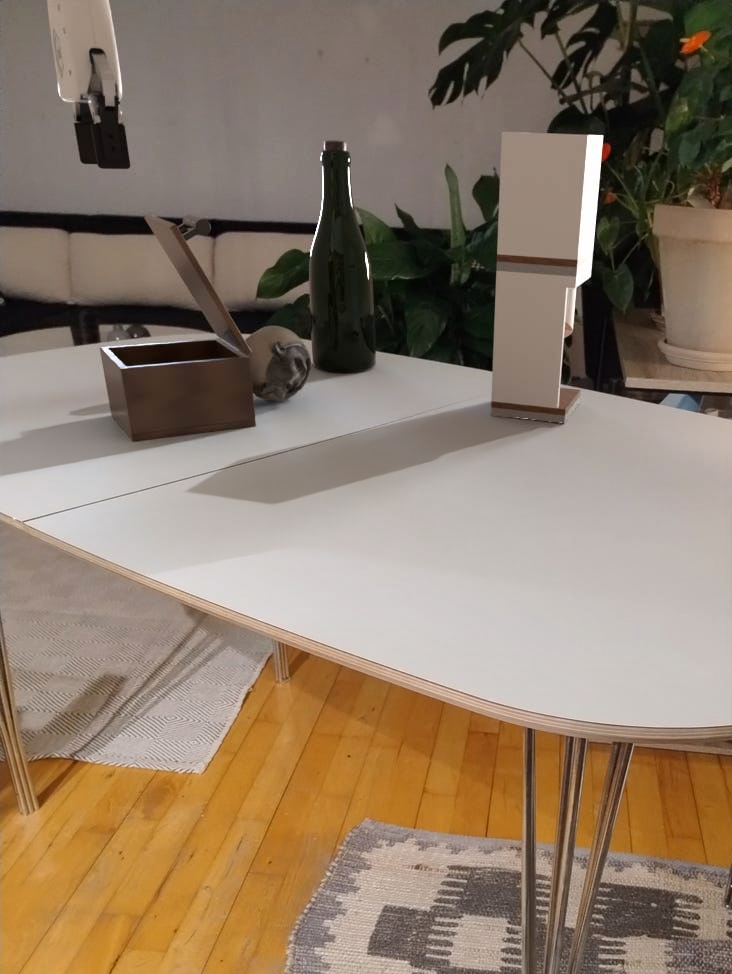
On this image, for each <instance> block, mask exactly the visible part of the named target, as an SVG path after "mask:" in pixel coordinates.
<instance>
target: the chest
mask: <svg viewBox="0 0 732 974" xmlns="http://www.w3.org/2000/svg"><path fill="white" fill-rule="evenodd" d="M99 352H100V359H101V364H102V369H103V375H104V381H105V387H106V392H107V397H108V398H107V399H108V404H109V410H110V414H111V416H112V418H113V419H114V420H115V421H116V422H117V424H118V425H119V427H121V429H122V430H123V431H124V432H125V434H126V435H127V437H129V439H130V440H131V441H132V442H137V441H138V440H139V441H146V440H154V439H163V438H172V437H177V436H187V435H196V434H203V433H210V432H212V433H213V432H219V431H227V430H235V429H236V430H237V429H242V428H243V429H244V428H251V427H256V426H257V422H256V412H255V411H256V409H255V400H254V394H253V388H252V377H251V367H250V358H249V357H248V356H246V355H245V354H243V353H242V352H240V351H239V350H238V349H237V348H235V347H233V346H232V345H230V344H229V343H227V342H226V341H224V340H223V339H221V338H220V337H217V338H204V339H203V338H202V339H190V340H178V341H165V342H152V343H151V342H149V343H141V344H140V343H139V344H137V343H135V344H126V345H125V344H124V345H123V344H122V345H112V346H111V345H110V346H99ZM139 441H138V442H139Z"/></svg>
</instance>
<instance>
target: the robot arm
mask: <svg viewBox="0 0 732 974" xmlns="http://www.w3.org/2000/svg"><path fill="white" fill-rule="evenodd" d="M46 2H47V3H46V5H47V15H48V23H49V32H50V38H51V46H52V53H53V60H54V68H55V73H56V75H55V76H56V81H57V91H58V94H59V98H61V100H63V101H64V102H65V103H72V114H73V120H74V122H73V128H74V132H75V138H76V145H77V149H78V150H77V151H78V155H79V161H80V163H81V164H83V165H97V167H98V168H99V169H102V170H129V169H130V168H131V159H130V154H129V153H130V152H129V147H128V140H127V132H126V125H125V124H124V123H125V122H124V115H123V112H122V109H121V100H122V99H123V83H122V74H121V66H120V60H119V52H118V46H117V40H116V34H115V27H114V22H113V17H112V9H111V5H110V0H46Z"/></svg>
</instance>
